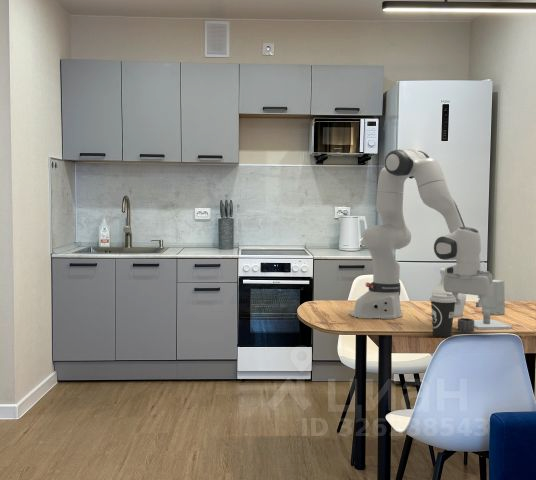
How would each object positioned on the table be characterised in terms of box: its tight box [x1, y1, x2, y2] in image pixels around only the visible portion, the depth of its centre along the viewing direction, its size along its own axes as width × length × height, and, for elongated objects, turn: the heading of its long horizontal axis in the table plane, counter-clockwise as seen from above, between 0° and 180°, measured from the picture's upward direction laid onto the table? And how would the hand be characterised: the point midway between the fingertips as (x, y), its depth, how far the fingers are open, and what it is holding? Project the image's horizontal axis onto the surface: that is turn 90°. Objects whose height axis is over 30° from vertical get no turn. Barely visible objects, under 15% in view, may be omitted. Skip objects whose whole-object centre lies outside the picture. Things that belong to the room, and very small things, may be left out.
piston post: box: [473, 310, 513, 331], centre depth 257 cm, size 14×14×6 cm
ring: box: [457, 317, 475, 333], centre depth 249 cm, size 6×6×4 cm
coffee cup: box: [429, 293, 457, 338], centre depth 239 cm, size 10×10×15 cm
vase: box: [431, 267, 467, 318], centre depth 281 cm, size 14×14×20 cm
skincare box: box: [481, 279, 506, 316], centre depth 285 cm, size 8×6×15 cm
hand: (467, 305), depth 248 cm, fingers open, 8 cm apart
